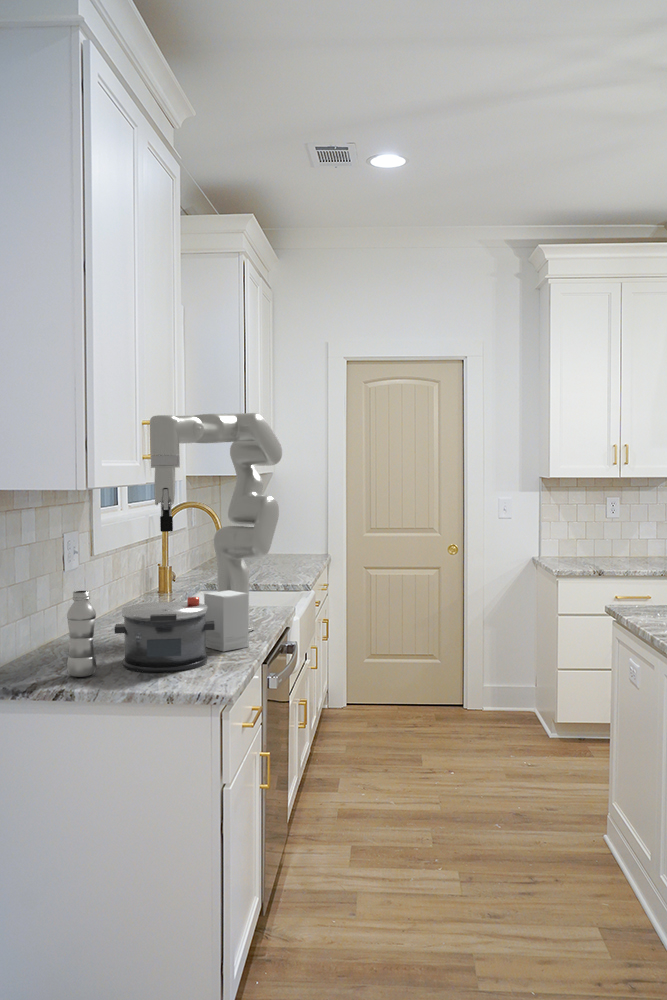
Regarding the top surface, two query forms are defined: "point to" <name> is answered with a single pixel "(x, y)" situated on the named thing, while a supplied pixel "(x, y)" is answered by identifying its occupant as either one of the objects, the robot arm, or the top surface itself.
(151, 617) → the lid
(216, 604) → the supplement box
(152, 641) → the pressure cooker
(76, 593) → the plastic bottle
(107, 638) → the top surface
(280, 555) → the top surface
